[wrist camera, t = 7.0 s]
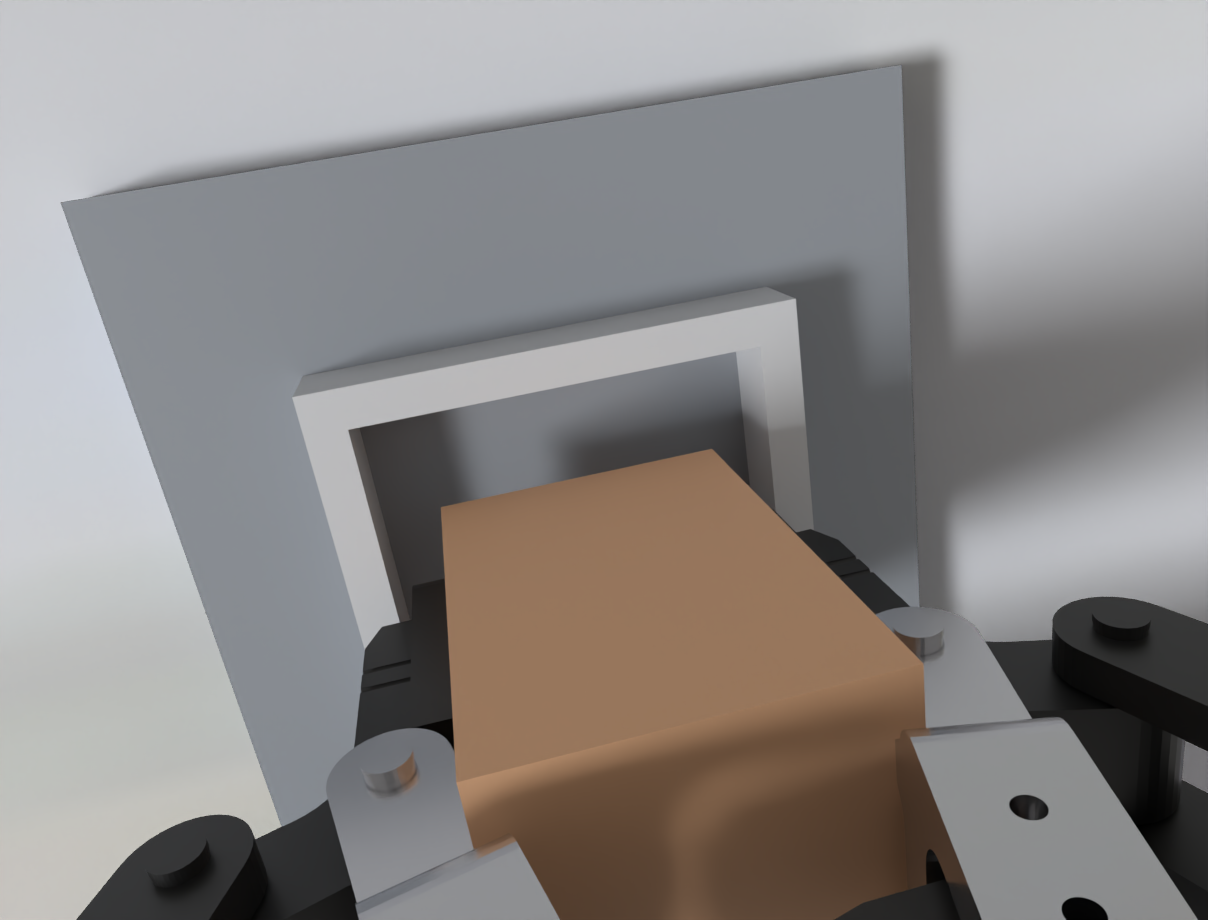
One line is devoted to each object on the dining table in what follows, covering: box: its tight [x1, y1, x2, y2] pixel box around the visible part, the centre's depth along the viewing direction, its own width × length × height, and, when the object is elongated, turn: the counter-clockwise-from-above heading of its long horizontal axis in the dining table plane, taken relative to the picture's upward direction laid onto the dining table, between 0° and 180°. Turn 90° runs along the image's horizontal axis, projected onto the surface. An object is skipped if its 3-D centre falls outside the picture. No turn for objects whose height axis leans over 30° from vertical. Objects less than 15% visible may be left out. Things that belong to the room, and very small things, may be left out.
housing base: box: [61, 65, 920, 827], centre depth 17 cm, size 23×12×2 cm, turn 9°
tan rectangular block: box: [441, 449, 926, 920], centre depth 11 cm, size 4×4×6 cm
